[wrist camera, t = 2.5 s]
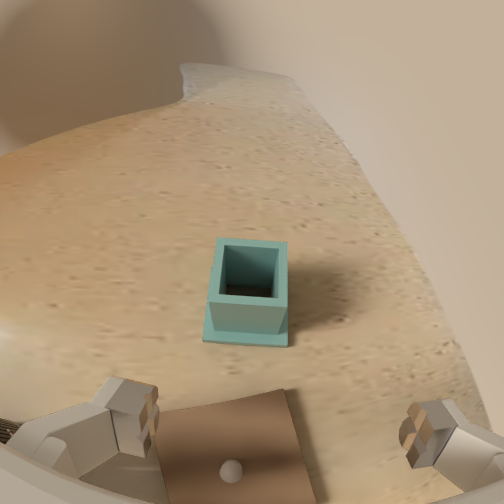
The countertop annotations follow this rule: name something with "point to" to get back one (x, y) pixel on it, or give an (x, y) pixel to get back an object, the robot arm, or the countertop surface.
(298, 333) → the countertop surface
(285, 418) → the walnut post base
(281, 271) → the flanged sleeve
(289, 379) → the countertop surface
